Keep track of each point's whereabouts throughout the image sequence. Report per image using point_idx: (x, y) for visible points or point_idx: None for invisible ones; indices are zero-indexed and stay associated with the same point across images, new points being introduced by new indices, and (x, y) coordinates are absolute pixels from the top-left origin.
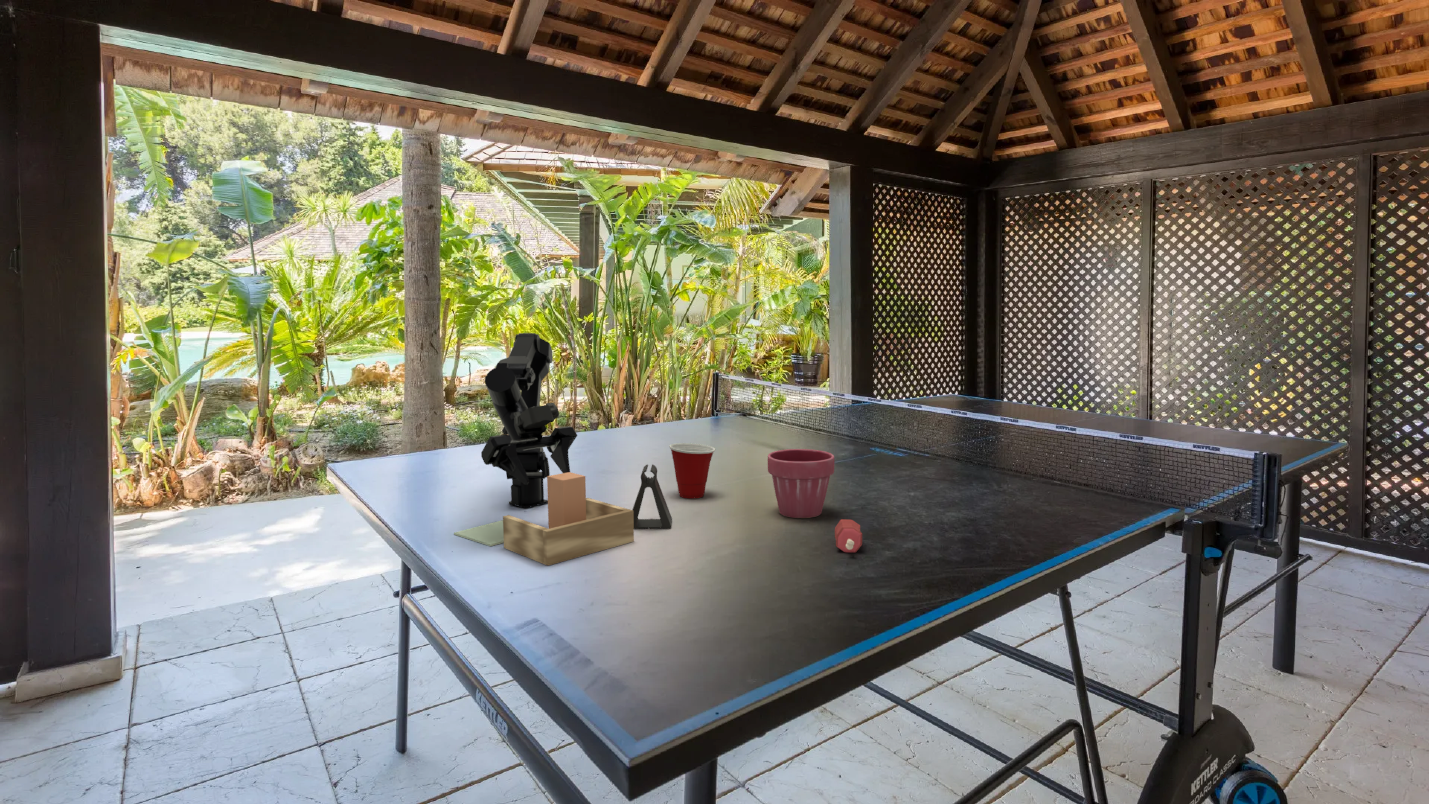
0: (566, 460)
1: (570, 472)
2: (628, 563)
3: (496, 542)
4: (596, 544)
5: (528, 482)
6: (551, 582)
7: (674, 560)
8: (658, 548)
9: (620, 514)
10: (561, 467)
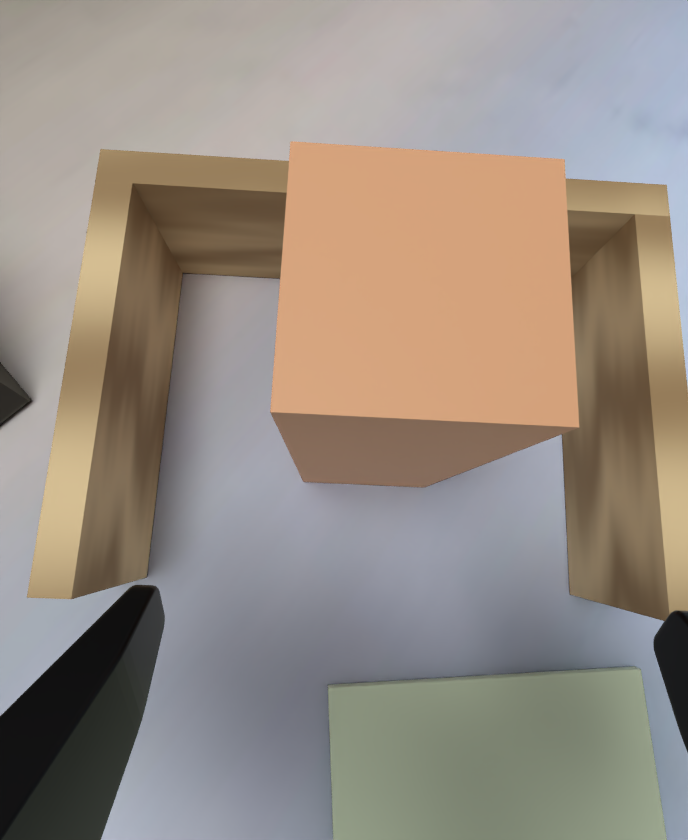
0: (20, 743)
1: (276, 386)
2: (360, 92)
3: (606, 674)
4: None
5: (665, 620)
6: (654, 143)
7: (233, 7)
8: (165, 123)
9: (196, 157)
10: (102, 786)
